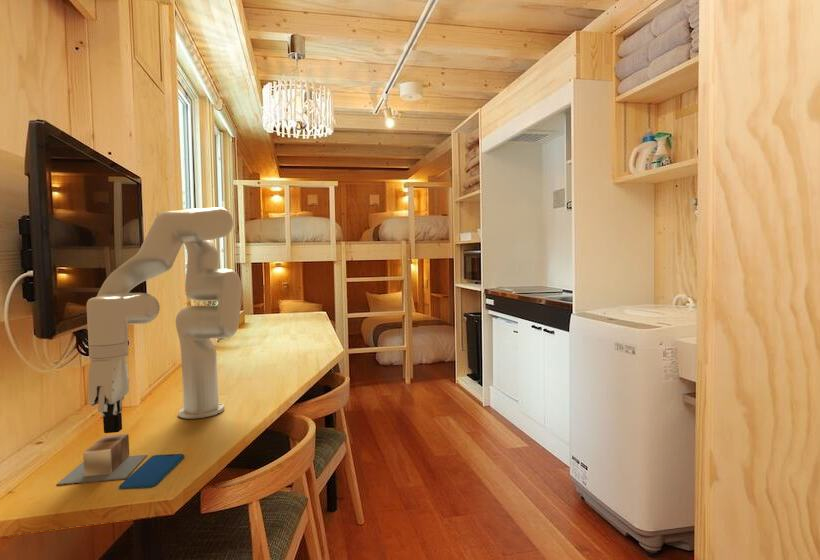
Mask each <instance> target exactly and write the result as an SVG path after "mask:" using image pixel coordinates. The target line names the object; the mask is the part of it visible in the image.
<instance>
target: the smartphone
mask: <svg viewBox="0 0 820 560" xmlns="http://www.w3.org/2000/svg"><path fill="white" fill-rule="evenodd" d="M184 459H185V454H184V453H174V454H173V453H171V454H170V453H169V454H155V455H152V456H150V457H149V458H148V459H147V460H146V461H145V462H144V463H142V465H139V466H140V467H137V468H136V469H135V470H134V471H133V472H132V473H131V474H130V475H129V476H128V478H127V479H124V481H123V482H122V483H120V484H119V486H118V488H119V489H120V490H131V489H133V490H134V489H152V488H154V487H157V486H158V485H159V484H160V483H161V482H162V481H163V479H165V478H166V477H167V476H168V475H169V474H170V473H171V472H172V471H173V470H174V469H175V468H176V467H177V466H178V465H179V464H180V463H181V462H182V461H183V460H184Z"/></svg>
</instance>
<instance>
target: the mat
mask: <svg viewBox="0 0 820 560" xmlns="http://www.w3.org/2000/svg"><path fill="white" fill-rule="evenodd" d="M146 457H148V454H139V455H137V454H136V455H129V456H128V457H127V458H126V459H125V460H124V461H123V462H122V463H121V464H120V465H119V466H118V467H117V468H116V469H115V470H114V471H113V472H112V473H111V474H105V475H94V476H84V460H82V462H80V464H78V466H76V467H75V468H74V469H73V470H71V471H70V472H69V473H68V474H66V475H65V476H64V477H63V478H62V479H61V480H59V481H58V482H57V483H56V485H57V486H65V485H64V484H68V485H75V484H74V483H79V484H88V483H87V482H90V483H98V482H99V483H100V482H109V481H121V480H126V479H127V478H128V477H129V476H131V475H132V474H133V473H134V472H135V471H136V470H137V469H138V468H139V467H138V466H140V464H141V463H142V462H143V461H144V460H145V459H146Z"/></svg>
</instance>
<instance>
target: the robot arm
mask: <svg viewBox="0 0 820 560" xmlns="http://www.w3.org/2000/svg"><path fill="white" fill-rule="evenodd" d="M233 225H234V220H233V216H232V214H231V213H230V211H229V210H227V209H226V208H224V207H198V208H197V207H194V208H192V207H191V208H183V209H179V210H167V211H164V212H161V213H159V214H158V215H157V216H156V217H155V219H154V220H153V222H152V225H151V226H150V228H149V230H148V232H147V234H146V235H145V238H144V240H143V242H142V244H141V245H140V248H139V250H138V251H137V253H136V254H135V255H133V256H132V257H130V258H129V259H127V260H126V261H125V262H123V264H121V265H119V266H118V267H117V268H115V269H114V270H113V271H112V272H110V273H109V275H108V276H107V277H106V279H105V280H104V282H103V283H102V284H101V286H100V289H99V290H98V292H97V295H96V296H95V297H93V296H92V297H91V298H88V300H87V302H86V318H87V319H86V320H87V338H88V356H89V357H88V359H89V371H88V385H87V386H88V395H87V396H88V404H89V405H90V406H92V407H93V406H96V405H97V412H98V413H101V416H102V420H103V421H102V422H103V433H104V434H112V433H113V434H114V433H119V432H120V431H122V430H123V418H122V416H123V415H122V410H123V400H125V399H124V398H125V397H126V396H127V394H129V391H130V381H129V380H130V379H129V376H130V375H129V368H128V361H127V357H129V355H130V354H129V341H128V340H129V339H128V337H129V335H128V326H130V325H144V324H145V325H146V324H148V323H151V322H153V321H154V320H155V319H156V318H157V317H158V315H159V313H160V311H161V310H160V308H161V307H160V302H159V301H158V299H157V298H156V297H155V296H153V295H152V294H150V293H146V292H131V290H133V289H134V288H135V287H137V286H138V285H140V284H141V283H143V282H145V281H148V280H150V279H152V278H156V277H157V276H161V275H163V274H164V273H166V272H169V271H170V269H171V268H172V267H173V265H174V263H175V261H176V258H177V256H178V254H179V252H180V249H181V247H182V246H183V245H184V246H185V249H186V252H187V253H186V254H187V261H186V273H185V283H184V284H185V285H184V291H185V292H184V293H185V295H186V297H187V298H188V299H189V300H191V301H196V302H217V305H207V304H206V305H190V306H189V305H188V306H186V307H183V308H181V310H179V312H178V313H177V314H176V317H175V328H176V332H177V335H178V336H177V337H178V340H179V344H180V354H181V355H180V358H181V378H182V379H181V381H182V400H183V402H182V403H183V405H182V406H183V407H181V408H180V409H178V411H177V416H178V417H179V418H182V419H187V420H188V419H189V420H194V419H203V418H208V417H213V416H216V415H218V413H219V414H221V413H222V412H223V411H225V405H224V403H222V402H219V382H218V379H219V378H218V358H217V354H218V353H217V350H216V346H215V345H214V342H212V340H211V339H230V338H231V337H234V336H235V335H236V333H237V332H238V328H239V326H240V325H239V323H240V315H241V314H240V313H241V303H242V281H241V278H240V276H239V274H238V272H236V271H235V270H233V269H229V268H219V252H218V250H217V247H216V246H215V245H214V243H213V242H212V241H213V240H215V239H216V240H217V239H220V238H224V237H227V236H228V235H229V234H230V233H231V232H232V230H233Z"/></svg>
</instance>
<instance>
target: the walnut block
mask: <svg viewBox="0 0 820 560" xmlns="http://www.w3.org/2000/svg"><path fill="white" fill-rule="evenodd" d="M129 436H130V435H129V433H123V434H121V433H120V434H110V435H109V434H108V435H107V434H106V435H103V436H102V437H100V439H98V440H97V442H94V444H92V445H91V446H90V447H89V448H87V449H86V450H85V451H83V453H82V455H83V461H84V476H94V475H105V474H111V473H112V472H113V471H114V470H115V469H116V468H117V467H118V466H119V465H120V464H121V463H122V462H123V461H124V460H125V459H126V458H127V457H128V456H130V439H129V438H130V437H129Z"/></svg>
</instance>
